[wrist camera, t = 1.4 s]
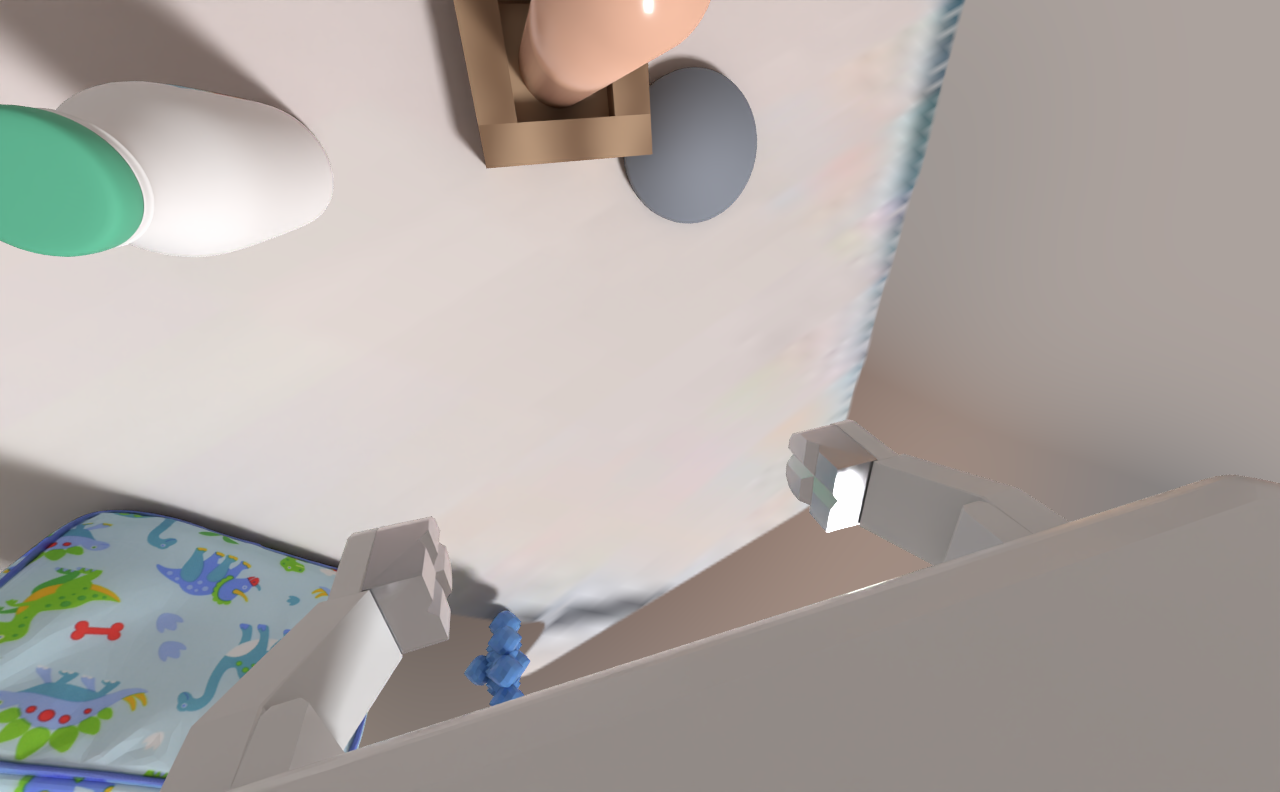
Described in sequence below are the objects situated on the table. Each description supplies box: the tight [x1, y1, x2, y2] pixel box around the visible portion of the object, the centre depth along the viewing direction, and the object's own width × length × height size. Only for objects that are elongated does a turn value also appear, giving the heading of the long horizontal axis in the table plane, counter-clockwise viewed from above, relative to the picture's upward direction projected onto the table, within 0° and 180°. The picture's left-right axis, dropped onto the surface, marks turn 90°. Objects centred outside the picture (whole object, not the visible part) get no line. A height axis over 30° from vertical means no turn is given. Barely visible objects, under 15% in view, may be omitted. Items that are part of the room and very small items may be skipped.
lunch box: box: [0, 510, 368, 792], centre depth 36 cm, size 26×11×21 cm, turn 50°
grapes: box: [464, 610, 530, 706], centre depth 51 cm, size 12×7×12 cm, turn 176°
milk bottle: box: [0, 81, 334, 257], centre depth 24 cm, size 8×8×20 cm
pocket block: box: [453, 0, 653, 168], centre depth 33 cm, size 12×12×3 cm
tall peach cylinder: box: [518, 0, 710, 108], centre depth 24 cm, size 5×5×22 cm
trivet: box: [624, 67, 757, 223], centre depth 39 cm, size 11×11×1 cm
